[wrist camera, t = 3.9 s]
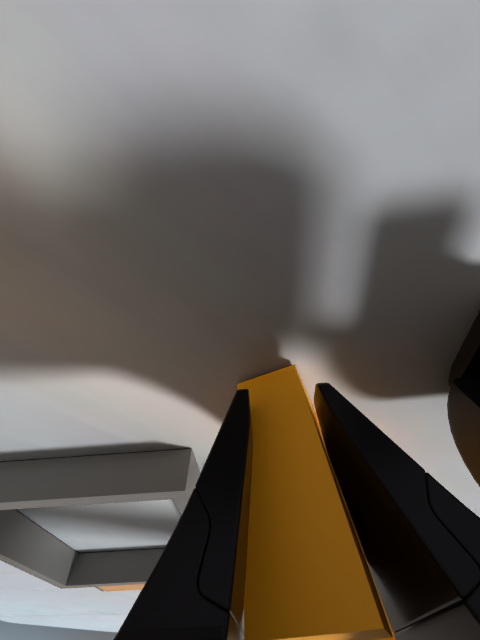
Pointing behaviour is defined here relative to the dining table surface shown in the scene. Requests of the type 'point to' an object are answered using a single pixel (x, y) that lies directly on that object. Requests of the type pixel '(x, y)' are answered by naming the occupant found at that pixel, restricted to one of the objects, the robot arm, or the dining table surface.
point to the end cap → (467, 400)
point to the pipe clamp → (301, 529)
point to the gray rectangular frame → (82, 489)
